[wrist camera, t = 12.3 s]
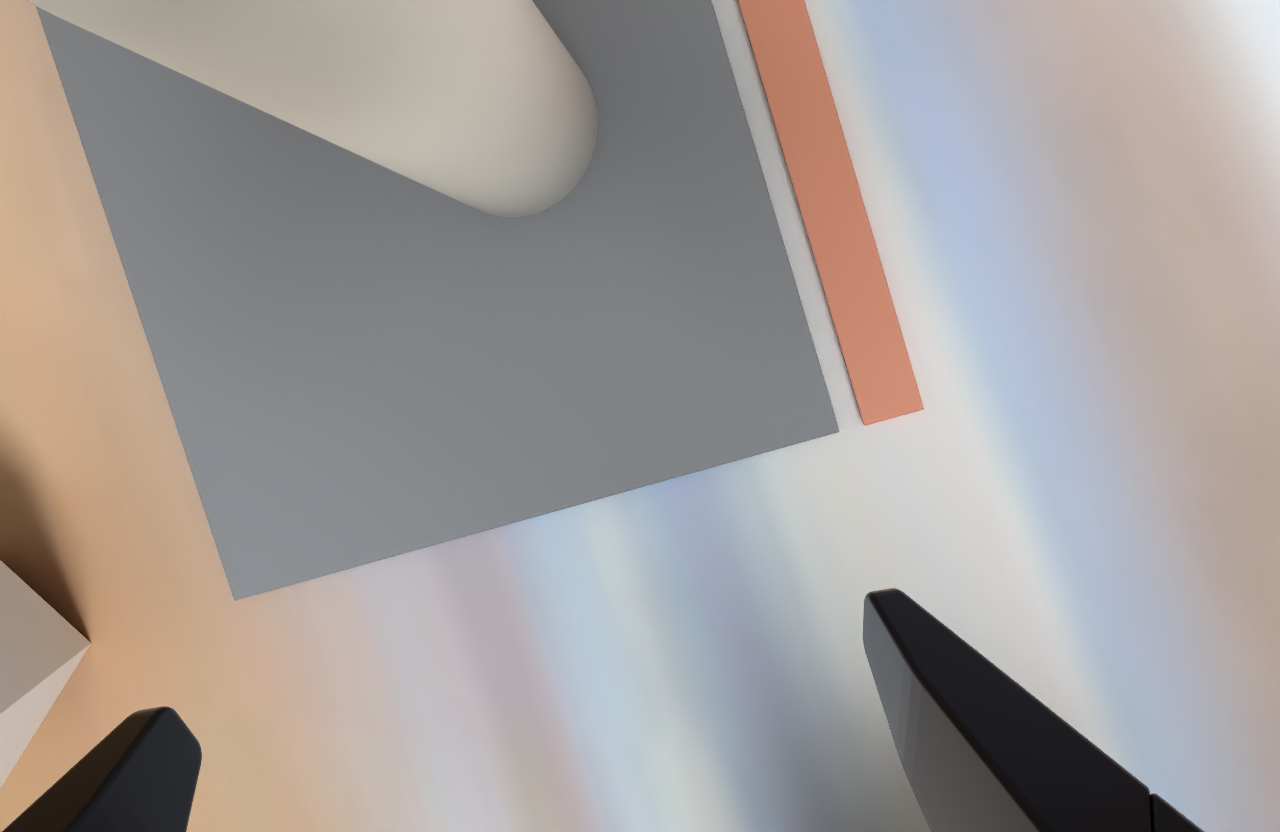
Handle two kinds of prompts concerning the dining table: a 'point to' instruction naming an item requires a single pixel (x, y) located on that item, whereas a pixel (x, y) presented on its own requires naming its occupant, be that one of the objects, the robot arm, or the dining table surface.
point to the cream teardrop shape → (387, 82)
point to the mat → (448, 303)
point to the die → (30, 663)
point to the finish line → (832, 208)
